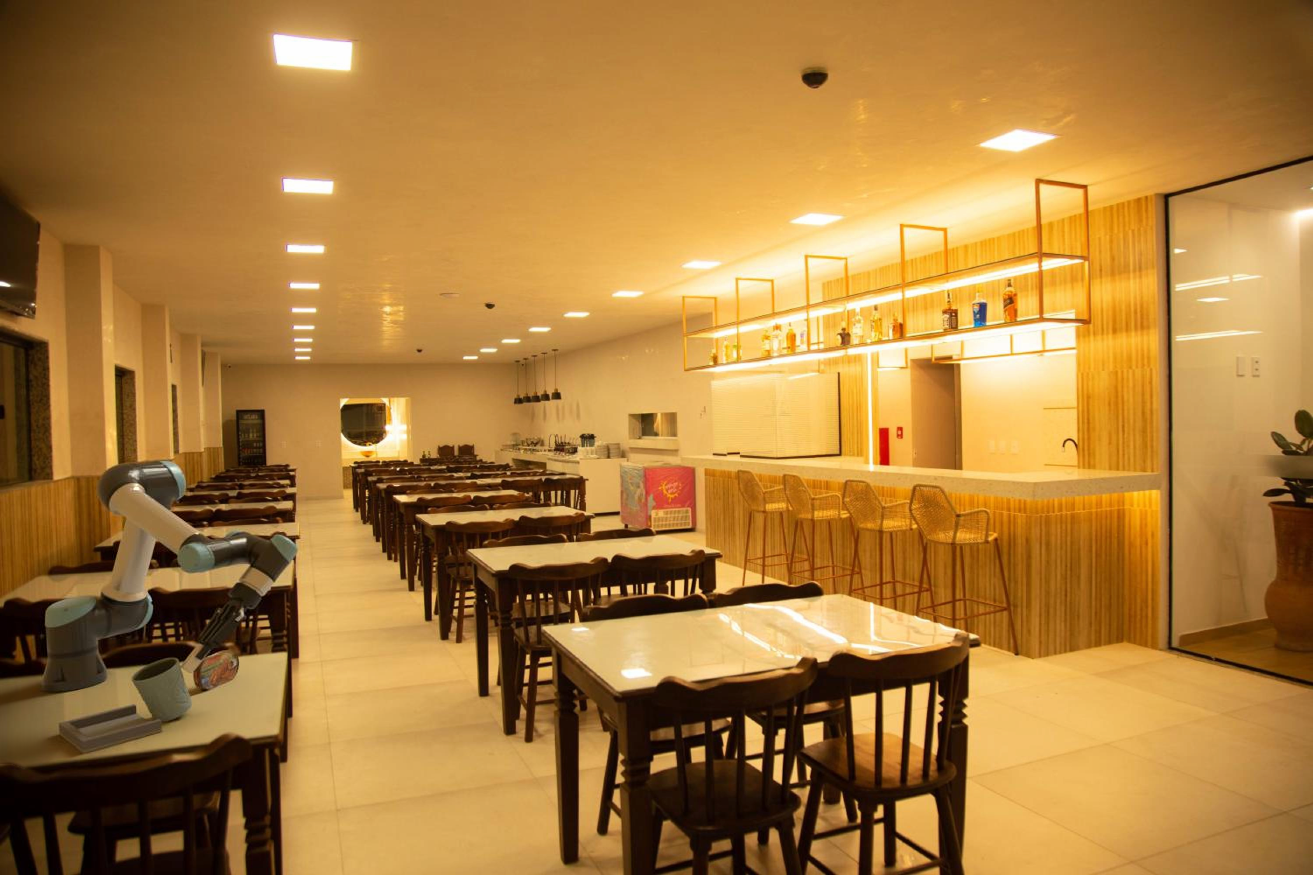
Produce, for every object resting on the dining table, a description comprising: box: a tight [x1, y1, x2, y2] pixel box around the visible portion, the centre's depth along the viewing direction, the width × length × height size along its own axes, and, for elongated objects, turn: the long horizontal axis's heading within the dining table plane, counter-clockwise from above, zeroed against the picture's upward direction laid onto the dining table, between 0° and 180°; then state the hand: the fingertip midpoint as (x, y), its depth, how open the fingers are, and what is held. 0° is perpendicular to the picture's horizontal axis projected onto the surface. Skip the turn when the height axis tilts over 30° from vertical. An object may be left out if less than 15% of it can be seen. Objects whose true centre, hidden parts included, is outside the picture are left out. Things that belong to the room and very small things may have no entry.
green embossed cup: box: [131, 657, 193, 723], centre depth 205 cm, size 10×10×12 cm
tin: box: [192, 649, 240, 690], centre depth 231 cm, size 15×3×8 cm, turn 168°
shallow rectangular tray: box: [58, 703, 163, 754], centre depth 197 cm, size 19×16×3 cm
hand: (186, 669), depth 207 cm, fingers closed
